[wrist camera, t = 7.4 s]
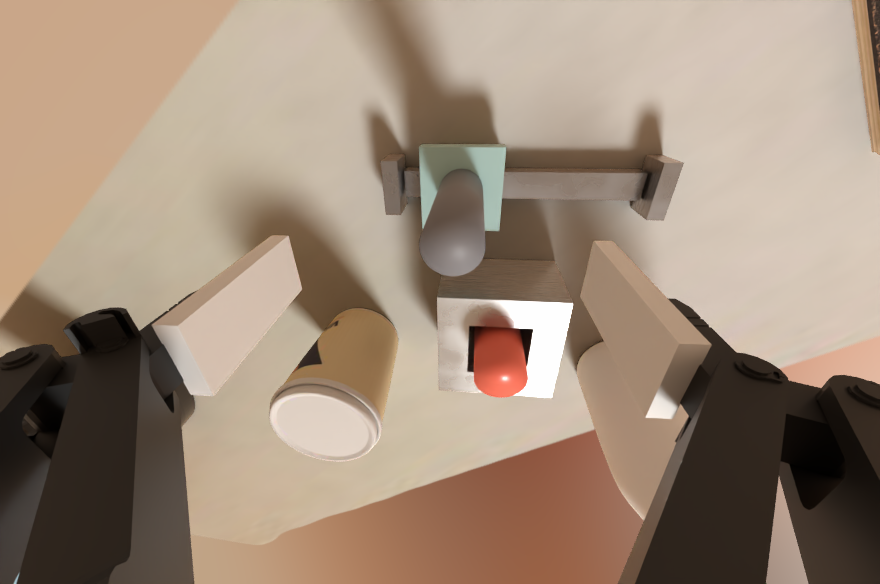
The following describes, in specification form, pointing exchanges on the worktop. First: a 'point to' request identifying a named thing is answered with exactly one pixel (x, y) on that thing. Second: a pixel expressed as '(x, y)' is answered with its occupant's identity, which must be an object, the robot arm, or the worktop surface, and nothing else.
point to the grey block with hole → (503, 319)
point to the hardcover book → (870, 62)
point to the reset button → (499, 361)
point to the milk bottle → (626, 429)
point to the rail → (557, 184)
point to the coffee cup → (339, 389)
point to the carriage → (459, 203)
